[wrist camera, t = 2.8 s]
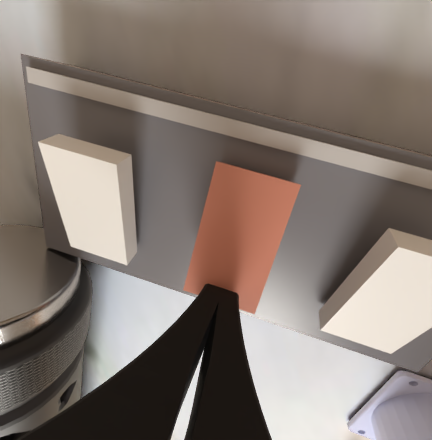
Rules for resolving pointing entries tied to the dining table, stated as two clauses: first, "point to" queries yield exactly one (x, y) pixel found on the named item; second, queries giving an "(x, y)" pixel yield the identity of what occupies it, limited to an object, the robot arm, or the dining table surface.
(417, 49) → the dining table surface
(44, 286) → the muzzle brake
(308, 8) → the dining table surface
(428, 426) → the robot arm
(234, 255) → the rocker middle
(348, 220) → the switch box
